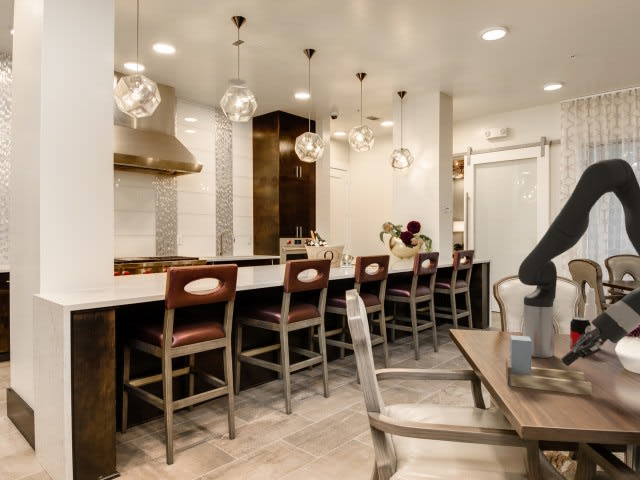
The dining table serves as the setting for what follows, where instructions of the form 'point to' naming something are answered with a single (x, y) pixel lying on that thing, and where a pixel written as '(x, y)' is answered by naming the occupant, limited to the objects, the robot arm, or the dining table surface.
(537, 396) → the dining table surface
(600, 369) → the dining table surface
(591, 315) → the cosmetic bottle
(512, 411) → the dining table surface
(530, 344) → the block
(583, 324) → the beverage can
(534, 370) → the wooden tray frame
